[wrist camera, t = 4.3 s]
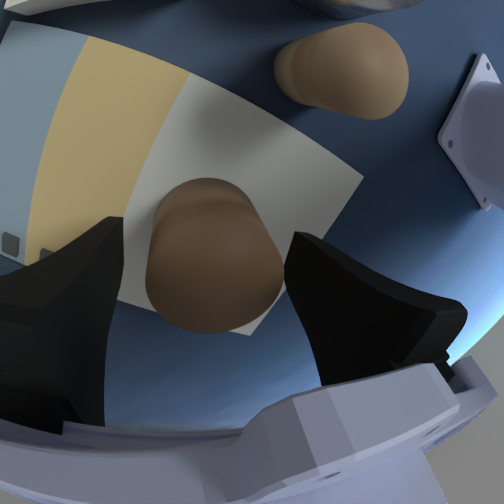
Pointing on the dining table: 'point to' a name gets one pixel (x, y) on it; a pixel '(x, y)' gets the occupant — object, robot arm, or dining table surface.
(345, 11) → the tin
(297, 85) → the cork
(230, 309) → the walnut cylinder
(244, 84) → the dining table surface
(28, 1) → the soap bar
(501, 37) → the dining table surface
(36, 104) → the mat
